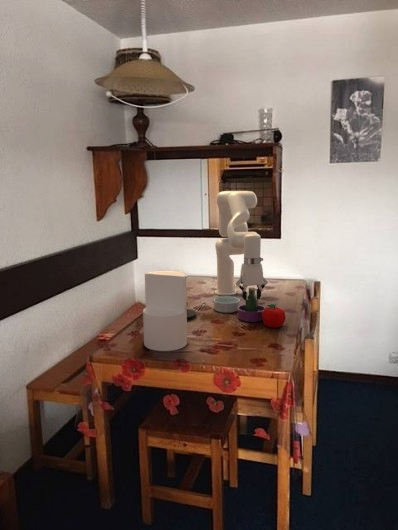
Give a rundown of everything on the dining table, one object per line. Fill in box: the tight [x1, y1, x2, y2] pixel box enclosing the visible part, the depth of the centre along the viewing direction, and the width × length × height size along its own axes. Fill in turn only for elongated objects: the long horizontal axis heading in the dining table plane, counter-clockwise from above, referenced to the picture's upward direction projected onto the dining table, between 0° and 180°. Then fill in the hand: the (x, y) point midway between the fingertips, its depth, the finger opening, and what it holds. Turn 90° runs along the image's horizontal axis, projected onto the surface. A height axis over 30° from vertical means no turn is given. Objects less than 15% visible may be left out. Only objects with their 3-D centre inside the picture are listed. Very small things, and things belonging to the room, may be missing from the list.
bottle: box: [244, 286, 259, 312], centre depth 213 cm, size 6×6×14 cm
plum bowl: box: [237, 304, 266, 323], centre depth 214 cm, size 13×13×5 cm
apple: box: [262, 303, 287, 329], centre depth 203 cm, size 11×11×10 cm
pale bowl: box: [213, 296, 241, 314], centre depth 229 cm, size 13×13×5 cm
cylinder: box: [142, 270, 188, 352], centre depth 181 cm, size 17×17×28 cm
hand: (251, 298), depth 212 cm, fingers closed on bottle, 6 cm apart
